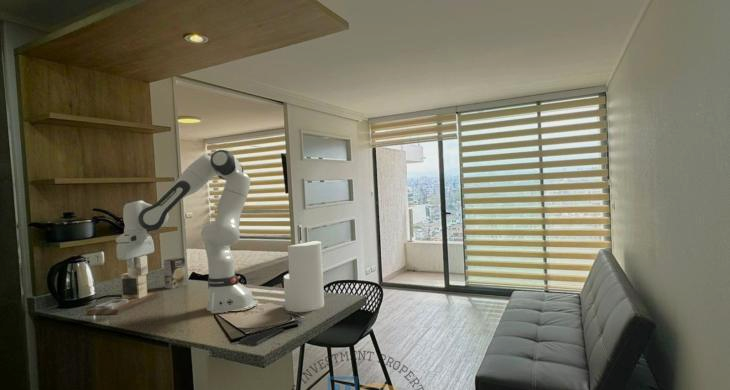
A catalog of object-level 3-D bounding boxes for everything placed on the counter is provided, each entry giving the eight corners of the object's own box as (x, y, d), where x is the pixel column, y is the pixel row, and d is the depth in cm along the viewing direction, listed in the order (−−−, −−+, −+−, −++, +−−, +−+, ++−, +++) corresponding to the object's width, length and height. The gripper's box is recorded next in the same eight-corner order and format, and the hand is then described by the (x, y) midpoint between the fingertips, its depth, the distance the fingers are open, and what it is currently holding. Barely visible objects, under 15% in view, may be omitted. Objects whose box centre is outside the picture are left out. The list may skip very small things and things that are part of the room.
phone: (284, 328, 140) (255, 343, 127) (284, 331, 140) (255, 347, 127) (268, 326, 144) (238, 340, 131) (268, 329, 144) (238, 343, 131)
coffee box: (172, 289, 214) (171, 260, 214) (164, 288, 217) (163, 260, 217) (186, 285, 223) (184, 257, 223) (178, 284, 225) (176, 257, 225)
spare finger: (148, 273, 176) (147, 255, 176) (141, 275, 171) (140, 257, 171) (134, 273, 177) (133, 256, 176) (127, 275, 172) (126, 258, 172)
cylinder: (332, 303, 173) (329, 241, 172) (305, 314, 158) (302, 247, 158) (304, 298, 182) (301, 240, 182) (276, 308, 168) (273, 245, 168)
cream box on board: (157, 296, 199) (156, 269, 199) (117, 314, 171) (116, 282, 171) (131, 297, 200) (129, 270, 200) (87, 314, 172) (85, 283, 172)
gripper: (144, 233, 184) (146, 262, 185) (112, 239, 164) (114, 271, 164) (156, 233, 184) (158, 261, 184) (126, 238, 163) (128, 270, 164)
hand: (137, 266), depth 174 cm, fingers closed on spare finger, 4 cm apart
